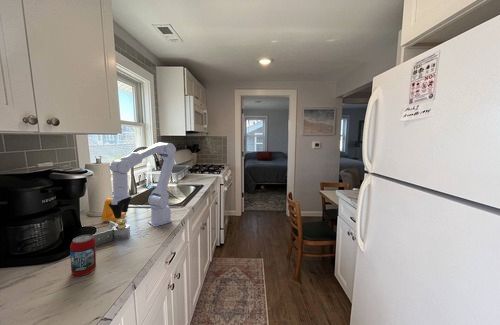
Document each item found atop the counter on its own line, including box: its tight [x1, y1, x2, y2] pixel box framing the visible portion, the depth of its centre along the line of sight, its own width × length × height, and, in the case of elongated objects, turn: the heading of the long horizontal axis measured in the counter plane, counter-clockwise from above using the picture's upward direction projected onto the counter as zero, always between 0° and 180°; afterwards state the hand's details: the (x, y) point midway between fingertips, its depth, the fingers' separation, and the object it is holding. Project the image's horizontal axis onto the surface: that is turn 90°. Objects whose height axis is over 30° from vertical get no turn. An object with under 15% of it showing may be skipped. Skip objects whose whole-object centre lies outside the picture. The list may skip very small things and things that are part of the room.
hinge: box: [92, 221, 131, 247], centre depth 97 cm, size 14×14×5 cm
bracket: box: [101, 197, 127, 222], centre depth 119 cm, size 11×7×12 cm, turn 179°
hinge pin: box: [115, 218, 128, 229], centre depth 98 cm, size 4×4×8 cm
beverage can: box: [69, 234, 97, 277], centre depth 73 cm, size 7×7×12 cm
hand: (121, 215), depth 98 cm, fingers open, 7 cm apart
